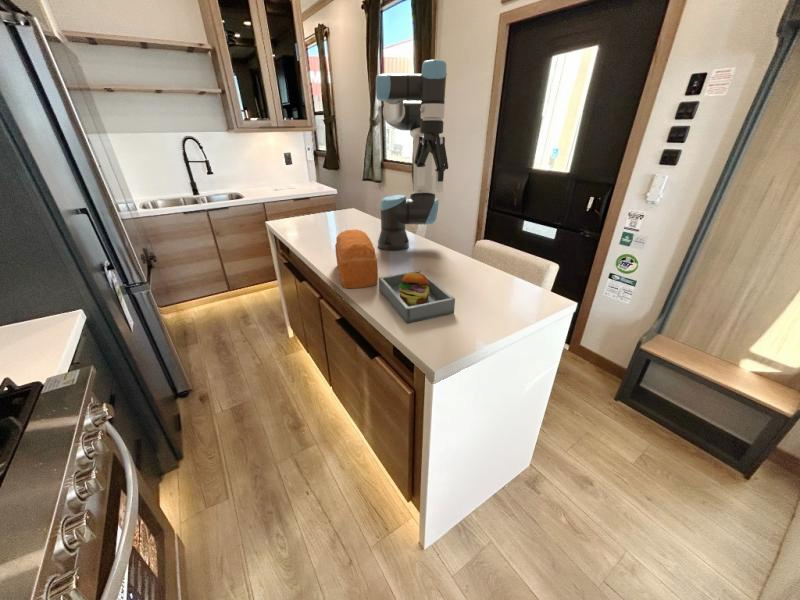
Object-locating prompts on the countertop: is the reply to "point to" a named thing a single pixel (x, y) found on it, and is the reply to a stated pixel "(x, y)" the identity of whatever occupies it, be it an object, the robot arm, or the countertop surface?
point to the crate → (431, 308)
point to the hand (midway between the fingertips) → (429, 188)
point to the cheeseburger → (414, 288)
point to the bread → (356, 259)
